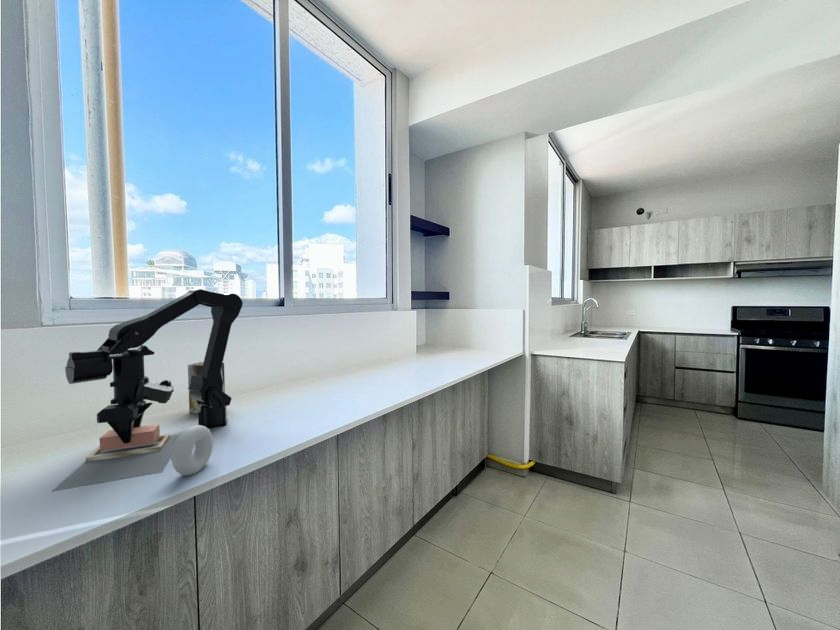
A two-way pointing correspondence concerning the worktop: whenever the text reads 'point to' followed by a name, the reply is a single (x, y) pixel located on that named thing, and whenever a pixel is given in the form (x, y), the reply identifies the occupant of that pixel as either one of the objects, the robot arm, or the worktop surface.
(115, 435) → the card deck
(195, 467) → the donut
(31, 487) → the worktop surface
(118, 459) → the mat
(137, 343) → the robot arm
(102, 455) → the slot frame
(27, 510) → the worktop surface
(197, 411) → the coffee box
